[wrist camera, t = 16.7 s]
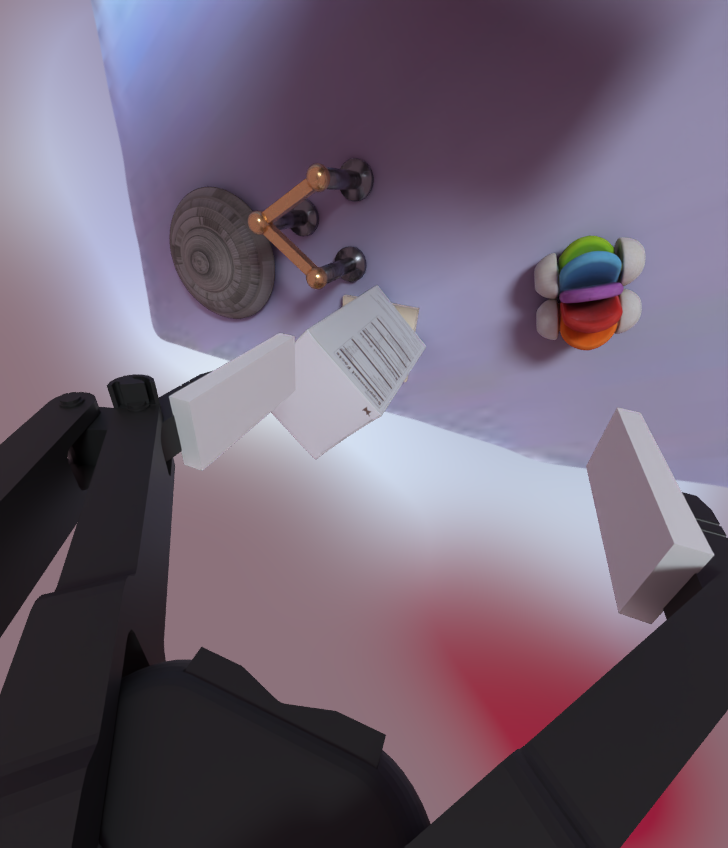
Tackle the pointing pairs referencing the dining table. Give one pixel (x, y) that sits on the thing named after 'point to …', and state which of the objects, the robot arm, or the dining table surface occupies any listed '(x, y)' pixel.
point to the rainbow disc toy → (589, 291)
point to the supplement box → (348, 371)
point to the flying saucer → (221, 253)
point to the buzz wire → (316, 220)
